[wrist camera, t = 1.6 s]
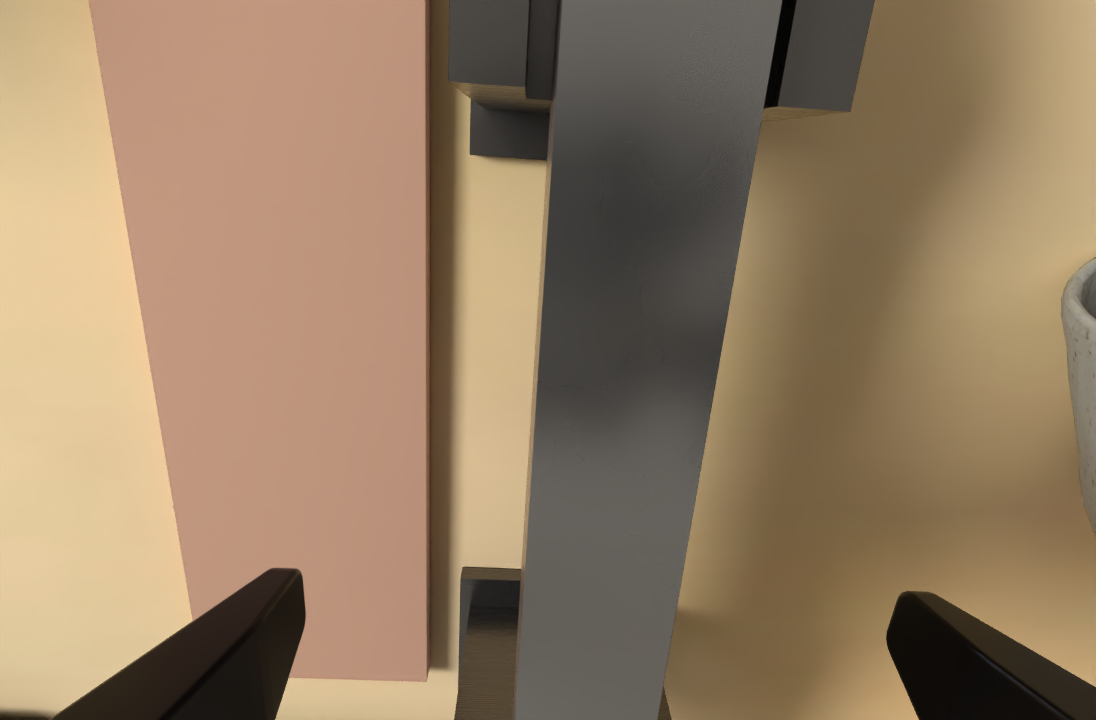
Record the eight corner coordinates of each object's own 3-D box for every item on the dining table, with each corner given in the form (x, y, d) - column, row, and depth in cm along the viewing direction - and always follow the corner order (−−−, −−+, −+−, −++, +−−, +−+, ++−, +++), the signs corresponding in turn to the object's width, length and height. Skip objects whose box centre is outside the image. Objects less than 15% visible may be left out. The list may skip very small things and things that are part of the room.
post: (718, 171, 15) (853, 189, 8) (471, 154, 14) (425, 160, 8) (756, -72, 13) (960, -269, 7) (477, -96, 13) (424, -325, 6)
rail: (595, 887, 17) (605, 1016, 14) (501, 886, 16) (495, 1015, 14) (778, -380, 8) (889, -616, 5) (582, -401, 8) (605, -653, 5)
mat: (429, 666, 20) (426, 682, 19) (211, 659, 19) (202, 674, 19) (429, -286, 12) (424, -309, 11) (55, -325, 11) (30, -350, 11)
